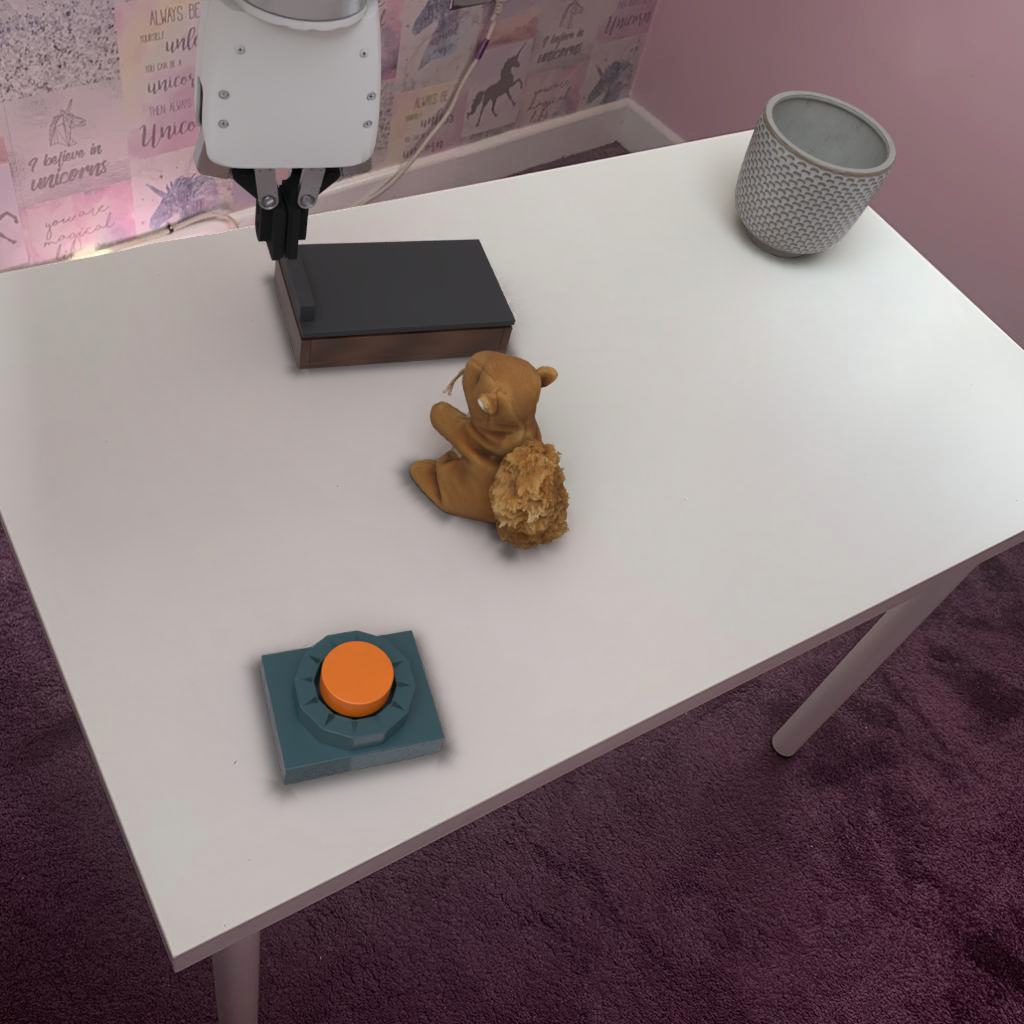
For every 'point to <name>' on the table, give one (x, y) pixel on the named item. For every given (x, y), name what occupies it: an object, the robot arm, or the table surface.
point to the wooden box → (385, 341)
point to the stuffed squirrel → (498, 453)
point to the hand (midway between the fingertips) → (279, 245)
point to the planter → (810, 172)
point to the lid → (393, 287)
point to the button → (356, 679)
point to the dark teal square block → (342, 739)
